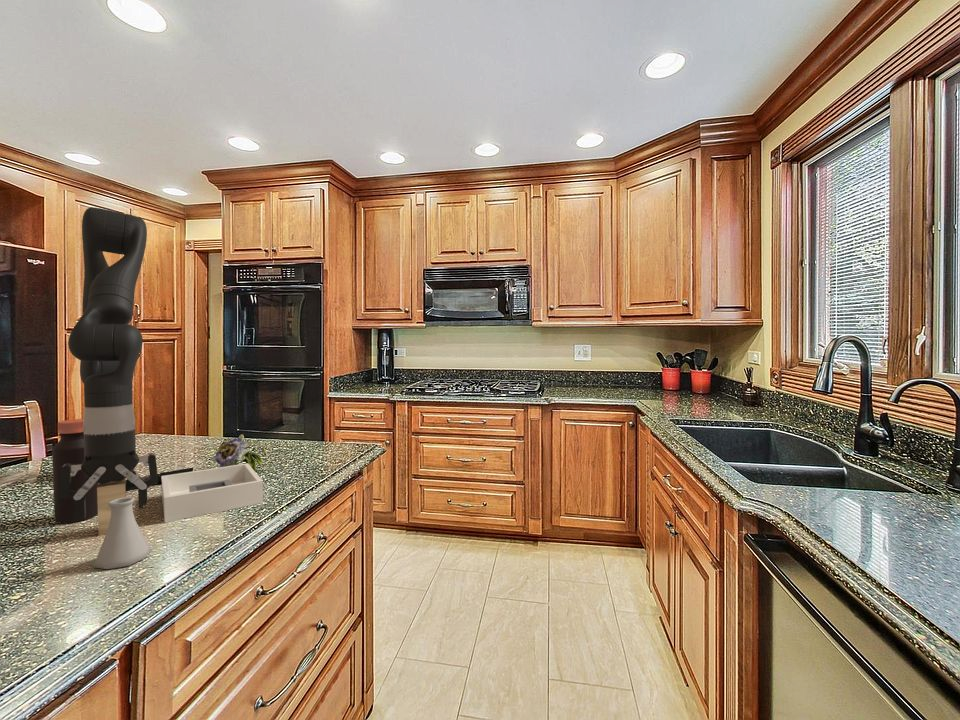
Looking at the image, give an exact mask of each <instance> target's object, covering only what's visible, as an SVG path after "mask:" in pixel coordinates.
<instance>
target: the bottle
mask: <svg viewBox="0 0 960 720" xmlns="http://www.w3.org/2000/svg"><path fill="white" fill-rule="evenodd" d="M57 433H58V436H59V437H60V440H58V442H57V443H56V444H54V446H53V447H52V448H51V458H52V461H51V462H52V484H53V508H54V509H53V511H54V513H53V514H54V522H56V523H58V524H74V523H80V522H82V521H86V520H89V519H91V518H94V517H96V516H98V501H97V487H98V484H99V483H97V482H95V484H94V485H93V486H92V487H91V488H90V489H89V490H88V491H87V493H86V494H85V495H84V497H86V518H85V519H81V520H80V517H76V516H75V506H74V500H73V499H67V498H66V499H61V498H60V482H61V468H62V467H63V465H64V464H66V463H70V464H82V463H83V462H84V431H83V418H75V419H67V420H66V419H65V420H61V421H58V422H57ZM88 477H89V476H88V475H87V474H85V473H84V472H83V471H82V470H78V471H77V473H76V475H75V476H71V490H78V489H79V488H80V487H81V486H82V484H83V483H84V482H85V481H86V479H87V478H88Z"/></svg>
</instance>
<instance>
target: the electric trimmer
mask: <svg viewBox="0 0 960 720" xmlns="http://www.w3.org/2000/svg"><path fill="white" fill-rule="evenodd" d="M192 471H194V467H188V468H181V469H176V470H170V471H163V472H160V473H157V475H158V483H157V484H156V485H159V484H160V485H162V484H161V483H162V482H161V476H165V475H172V474H179V473H186V472H192ZM141 477H142V478H143V479H144V480H146V479H149V478H150V475H148V476H141ZM135 489H138V487H137V486H136V485H135V484H133V483H132V482H130V481H129V480H128V479H127V478H126V493H127V492H128V491H130V490H135Z"/></svg>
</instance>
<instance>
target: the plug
mask: <svg viewBox="0 0 960 720" xmlns="http://www.w3.org/2000/svg"><path fill="white" fill-rule="evenodd" d="M126 480H127V478H126V479H124V480H122V481H118V482H113V481H111V482H108V483H105V484H101V483H98V487H97V501H98V514H97V526H98V527H97V528H98V529H97V530H98V537H101V535H102V536H105V535H106V533H107V530H108V527H109V523H110V518H111V507H109V505H108V503H109V502H111V501H112V500H115V499H118V498H125V497H127V492H126Z"/></svg>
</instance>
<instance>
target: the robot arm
mask: <svg viewBox="0 0 960 720" xmlns="http://www.w3.org/2000/svg"><path fill="white" fill-rule="evenodd" d="M147 237H148V228H147V224H146V222H145V220H144V219H143V218H141V217H139V216H136V215H133V214H129V213H125V212H120V211H115V210H112V209H111V210H110V209H106V208H99V207H94V206H93V207H92V206H90V207H88V208H86V209H85V210H84V213H83V216H82V219H81V240H82V241H81V242H82V252H83V253H82V254H83V269H84V271H83V273H84V275H83V290H82V291H83V292H82V309H81V310H82V315H81V316H80V318H79V319H78V321H77V322H76V323H75V325H74V326H73V328H72V330H71V331H70V334H69V337H68V340H67V341H68V349H69V352H70V353H71V355H72V356H73V357H74V358H76V359H77V360H78V361H80V363H79V375H80V376H79V377H80V379H81V383H83V396H84V398H83V400H84V402H83V403H84V409H83V410H84V411H83V417H82V419H83V431H84V462H83V463H82V464H70V463H66V464H64V465H63V467H62V468H61V482H60V498H61V499H66V498H67V499H73V500H74V506H75V516H76V517H80V520H81V519H85V518H86V497H84V495H85V494H86V493H87V491H88V490H89V489H90V488H91V487H92V486H93V485H94V484H95V482H97V483H98V484H99V483H101V484H105V483H108V482H111V481H113V482H118V481H122V480H124V479H126V480H127V479H128V480H129V481H130V482H132V483H133V484H135V485H136V486H137V487H138V488H137V496H138V497H137V498H138V500H137V501H138V509H139V510H141V509H144V506H145V505H147V503H148V489H149V487H151V486H153V485H158V484H157V483H158V475H157V474H158V467H157V458H156V457H157V456H156V454H155V453H154V452H150V453H148V454H145V455H140V456H139V455H138V453H137V449H136V447H137V443H136V441H137V440H136V418H135V417H136V416H135V410H134V403H133V402H134V401H133V399H134V398H133V382H134V381H133V380H134V372H135V370H136V366H137V362H138V359H139V356H140V354H141V351H142V347H143V344H144V343H143V342H144V339H143V338H144V337H143V335H142V333H141V331H140V329H138V327H136V326H134V325H132V324H129V323H130V322H131V320H132V318H133V316H134V305H135V304H134V303H135V293H136V286H137V283H138V282H137V281H138V278H139V275H140V273H141V268H142V264H143V261H144V255H145V251H146V247H147V246H146V245H147V241H148V240H147V239H148V238H147ZM104 253H108V254H109V253H111V254H116V255H122V257H121V258H119V260H117V261H116V262H113V264H111V265H109V264H108V262H107V260H106V257H105V255H104ZM139 463H142V465H144V467H148V470H149V476H150V478H149V479H146V480H144V479H143V478H142V477H143V476H141V475H140V474H139V473H138V472H136V471H135V470H136V469H135V468H136V467H137V466H138V464H139ZM78 470H82V471H83V472H84V473H85V474H87V475H88V476H89V477H88V478H87V479H86V481H85V482H84V483H83V484H82V486H81V487H80V488H79V489H78V490H71V476H75V475H76V473H77V471H78Z"/></svg>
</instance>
